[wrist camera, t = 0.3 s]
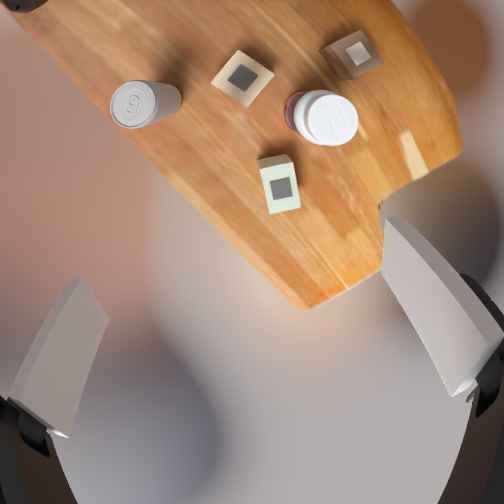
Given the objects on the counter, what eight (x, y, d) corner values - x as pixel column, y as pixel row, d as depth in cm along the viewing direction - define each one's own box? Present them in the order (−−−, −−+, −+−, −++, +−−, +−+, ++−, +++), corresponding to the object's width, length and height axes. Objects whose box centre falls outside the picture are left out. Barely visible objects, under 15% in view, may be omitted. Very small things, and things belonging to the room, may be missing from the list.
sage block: (256, 159, 35) (259, 169, 31) (285, 153, 35) (293, 162, 31) (265, 199, 39) (269, 214, 34) (293, 193, 38) (301, 208, 34)
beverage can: (187, 88, 30) (164, 85, 19) (175, 122, 32) (148, 135, 22) (153, 80, 29) (116, 75, 18) (142, 114, 31) (103, 124, 21)
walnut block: (318, 50, 27) (330, 44, 23) (346, 36, 26) (361, 29, 22) (339, 80, 30) (355, 79, 25) (366, 65, 28) (384, 62, 24)
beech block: (214, 85, 30) (210, 83, 25) (238, 56, 28) (238, 49, 23) (245, 106, 32) (247, 107, 27) (269, 77, 30) (275, 74, 25)
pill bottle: (285, 136, 34) (304, 153, 24) (279, 92, 31) (298, 90, 21) (329, 133, 34) (364, 150, 24) (325, 90, 30) (361, 89, 21)
